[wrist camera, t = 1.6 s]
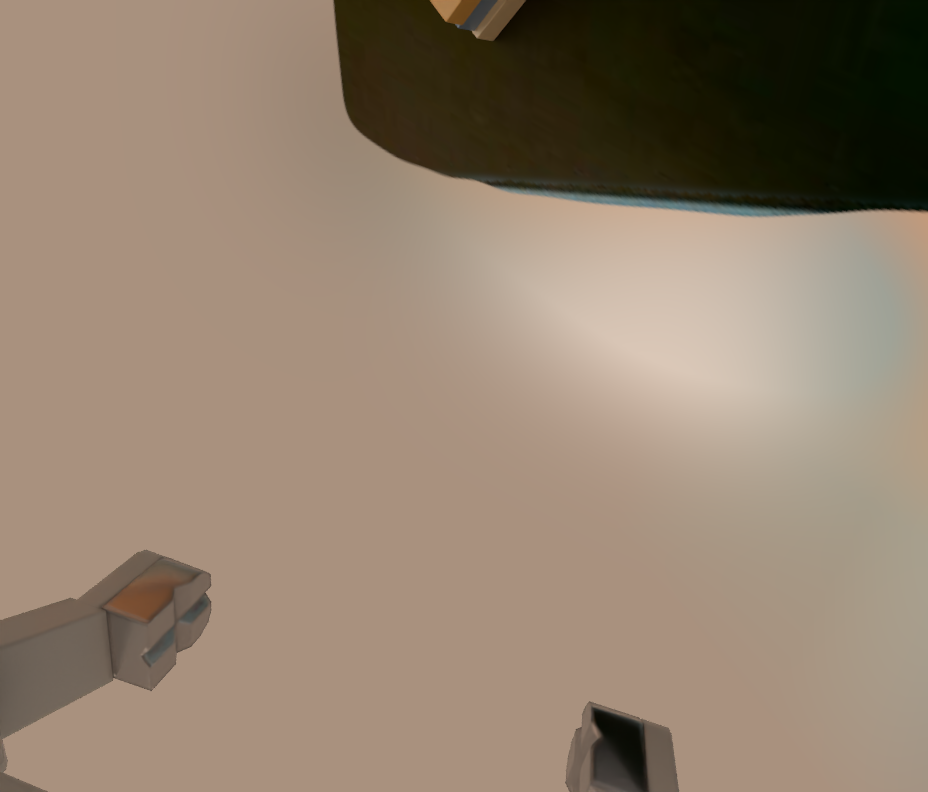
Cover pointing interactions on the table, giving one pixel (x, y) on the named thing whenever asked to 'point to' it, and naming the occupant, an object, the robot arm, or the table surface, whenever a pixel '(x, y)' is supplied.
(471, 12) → the book stack
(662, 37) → the table surface
